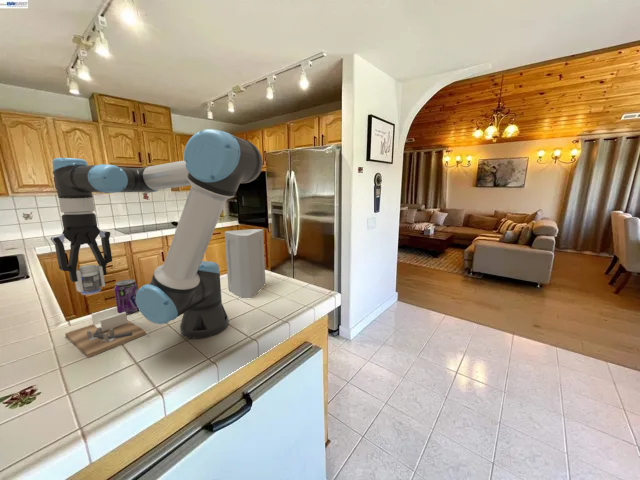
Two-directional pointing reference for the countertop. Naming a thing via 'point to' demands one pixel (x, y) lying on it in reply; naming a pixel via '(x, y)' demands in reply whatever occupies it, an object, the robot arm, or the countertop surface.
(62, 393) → the countertop surface
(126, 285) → the beverage can
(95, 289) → the pill bottle
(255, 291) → the grey triangular prism
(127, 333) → the cable
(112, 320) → the end holder
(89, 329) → the board
